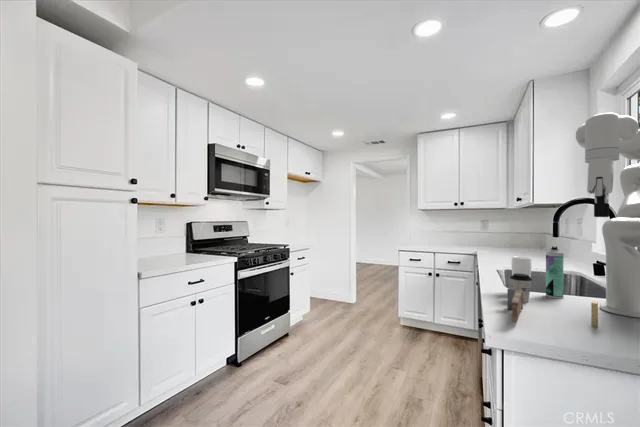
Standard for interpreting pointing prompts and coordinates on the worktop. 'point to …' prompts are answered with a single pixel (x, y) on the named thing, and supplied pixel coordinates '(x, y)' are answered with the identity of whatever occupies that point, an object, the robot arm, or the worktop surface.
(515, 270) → the white cylinder
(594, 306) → the post
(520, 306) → the gate leaf
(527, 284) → the coffee cup
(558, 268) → the spray can
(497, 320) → the worktop surface
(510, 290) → the hinge post
